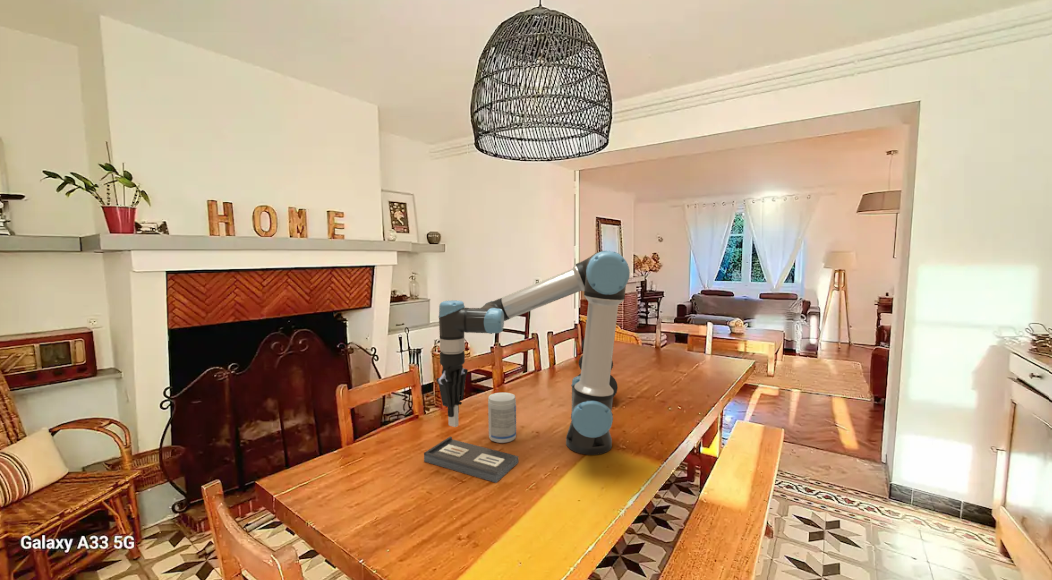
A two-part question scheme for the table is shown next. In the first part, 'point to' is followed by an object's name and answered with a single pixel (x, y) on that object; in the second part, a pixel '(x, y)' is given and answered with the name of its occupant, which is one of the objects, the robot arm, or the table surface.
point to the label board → (470, 460)
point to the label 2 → (489, 460)
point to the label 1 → (454, 450)
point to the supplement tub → (502, 417)
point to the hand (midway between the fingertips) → (453, 425)
